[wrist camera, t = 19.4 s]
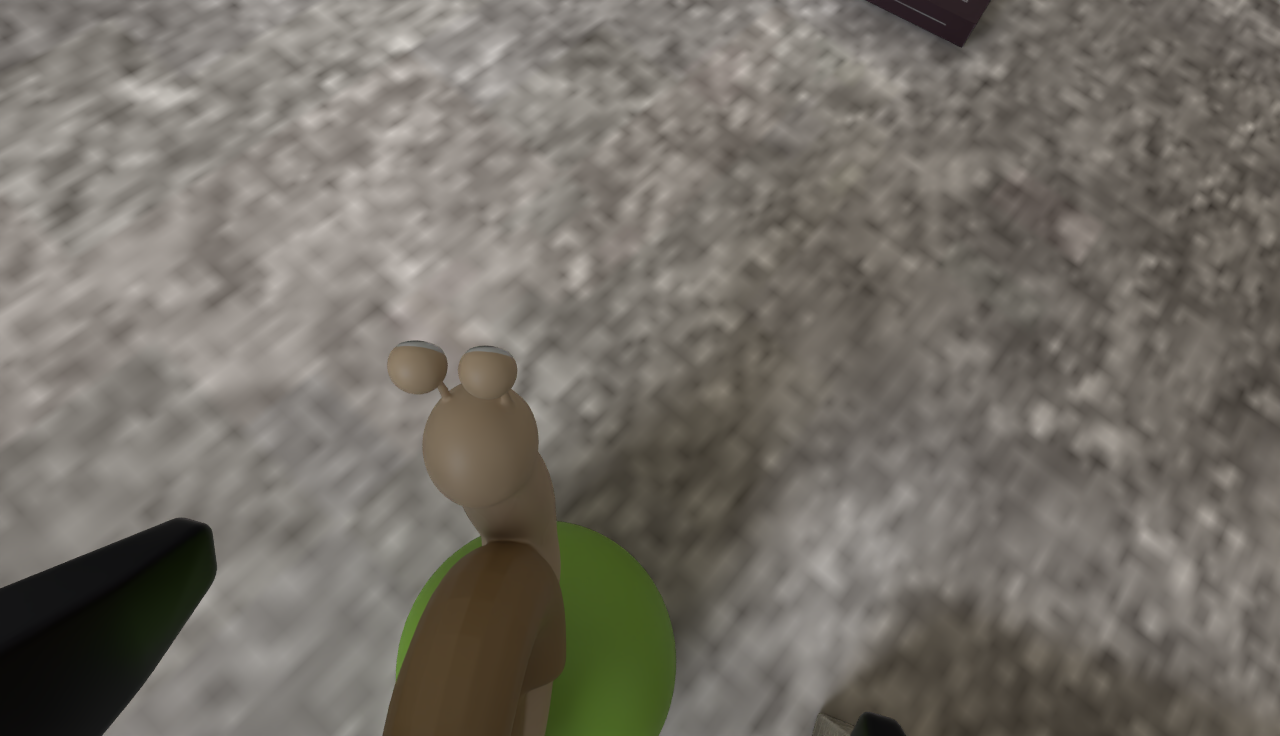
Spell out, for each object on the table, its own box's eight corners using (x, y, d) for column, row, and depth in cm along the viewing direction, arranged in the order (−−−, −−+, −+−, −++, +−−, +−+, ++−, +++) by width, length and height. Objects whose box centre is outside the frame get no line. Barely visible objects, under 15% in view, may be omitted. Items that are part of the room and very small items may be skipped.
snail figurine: (679, 497, 18) (748, 352, 7) (662, 786, 16) (715, 1287, 5) (463, 480, 18) (156, 308, 7) (422, 765, 16) (-97, 1206, 5)
